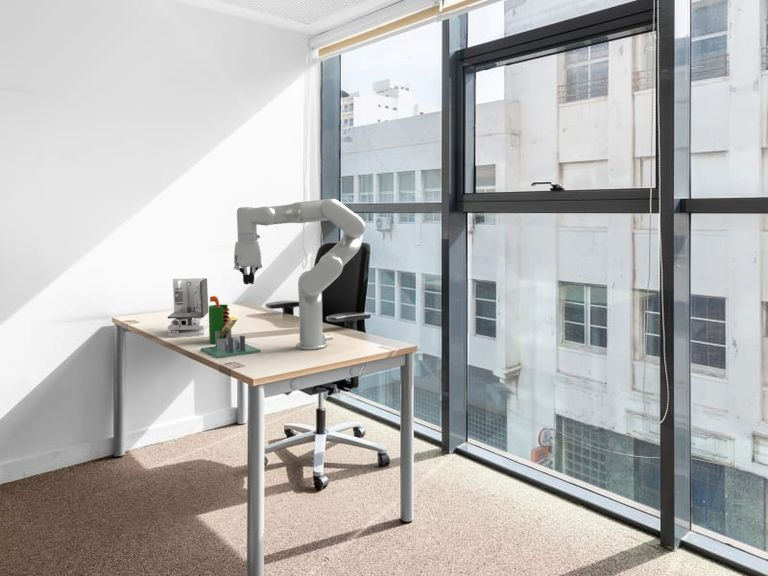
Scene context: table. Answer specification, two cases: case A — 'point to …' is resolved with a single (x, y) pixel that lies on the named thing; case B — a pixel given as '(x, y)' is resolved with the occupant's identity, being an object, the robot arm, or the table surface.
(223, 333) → the strap
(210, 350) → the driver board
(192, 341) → the table surface
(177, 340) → the table surface
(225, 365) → the table surface
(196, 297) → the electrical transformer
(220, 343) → the heat sink
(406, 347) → the table surface
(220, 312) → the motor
